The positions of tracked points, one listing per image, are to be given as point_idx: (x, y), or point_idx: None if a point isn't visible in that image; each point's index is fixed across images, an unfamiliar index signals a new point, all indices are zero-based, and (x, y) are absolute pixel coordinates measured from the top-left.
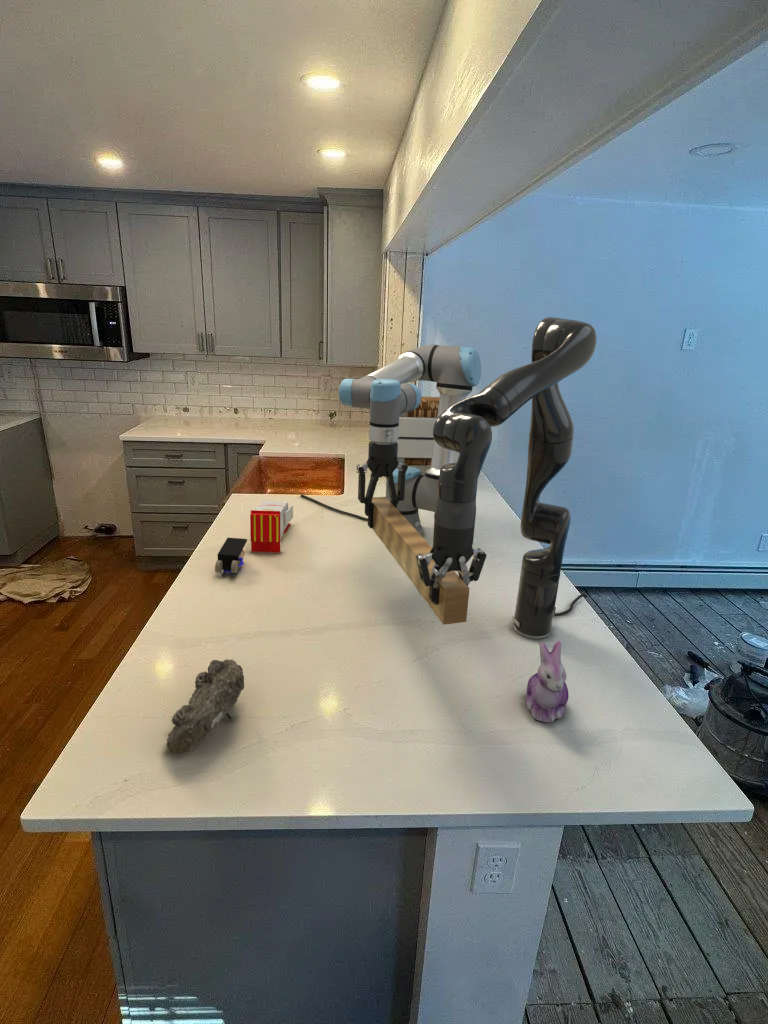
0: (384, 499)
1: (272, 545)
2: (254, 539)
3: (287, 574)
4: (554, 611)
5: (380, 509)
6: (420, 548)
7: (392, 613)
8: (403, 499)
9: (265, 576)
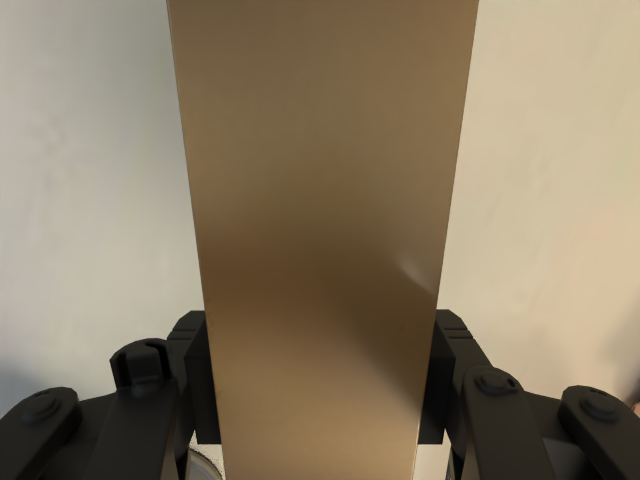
0: (262, 464)
1: None
2: None
3: (540, 321)
4: None
5: (430, 159)
6: None
7: None
8: (31, 397)
9: (601, 321)
